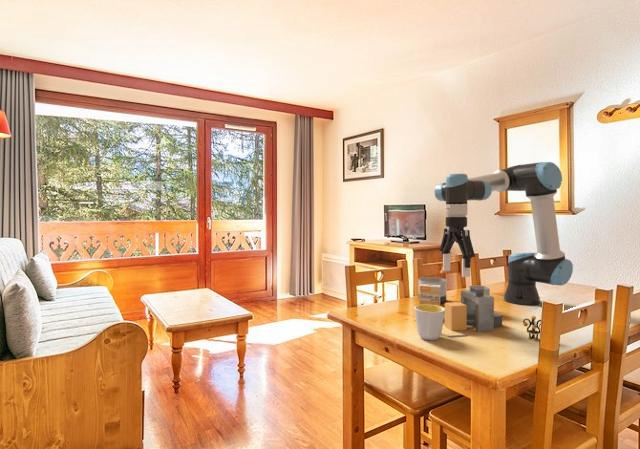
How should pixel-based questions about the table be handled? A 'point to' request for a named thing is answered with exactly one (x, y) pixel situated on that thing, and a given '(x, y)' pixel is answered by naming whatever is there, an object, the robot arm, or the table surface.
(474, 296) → the housing
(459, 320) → the plug
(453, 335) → the bay
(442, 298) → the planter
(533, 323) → the figurine
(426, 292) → the supplement box
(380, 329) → the table surface
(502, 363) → the table surface
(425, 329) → the mug
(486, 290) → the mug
